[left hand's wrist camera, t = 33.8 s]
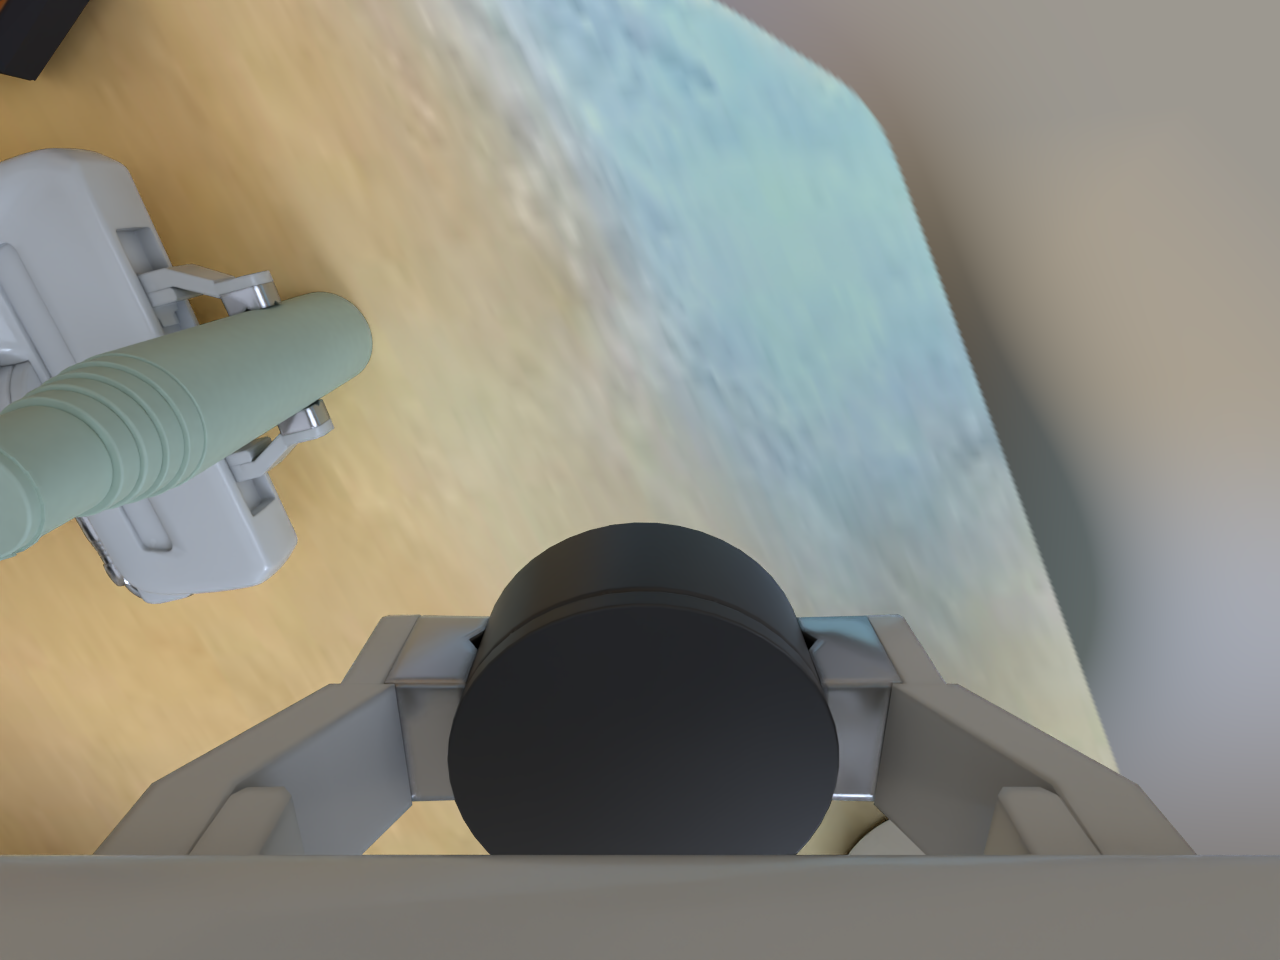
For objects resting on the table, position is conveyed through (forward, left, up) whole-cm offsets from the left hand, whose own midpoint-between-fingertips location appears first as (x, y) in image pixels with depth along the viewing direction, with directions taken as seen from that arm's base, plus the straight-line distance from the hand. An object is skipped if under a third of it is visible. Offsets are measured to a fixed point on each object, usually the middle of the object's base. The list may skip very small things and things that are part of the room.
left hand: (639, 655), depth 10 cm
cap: (0, 0, +2) cm, 2 cm away
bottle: (+13, +11, -29) cm, 34 cm away
